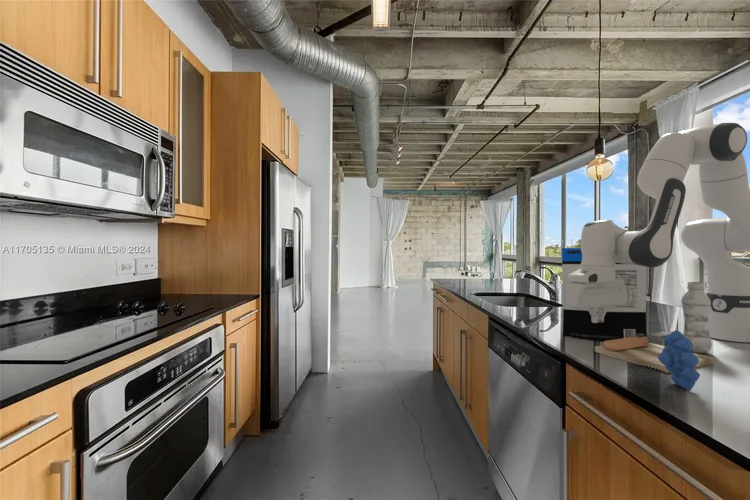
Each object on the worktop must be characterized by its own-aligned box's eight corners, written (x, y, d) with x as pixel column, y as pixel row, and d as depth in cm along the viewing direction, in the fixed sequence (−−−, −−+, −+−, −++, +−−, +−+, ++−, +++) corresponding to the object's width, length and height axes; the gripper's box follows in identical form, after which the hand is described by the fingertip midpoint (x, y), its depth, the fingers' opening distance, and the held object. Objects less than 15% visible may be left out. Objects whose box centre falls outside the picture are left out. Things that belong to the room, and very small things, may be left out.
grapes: (646, 375, 92) (646, 325, 92) (679, 377, 91) (678, 326, 90) (670, 394, 81) (670, 337, 81) (708, 397, 79) (708, 339, 79)
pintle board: (637, 344, 119) (637, 324, 119) (713, 363, 100) (713, 339, 100) (594, 351, 113) (594, 330, 112) (667, 372, 94) (667, 347, 94)
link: (638, 342, 114) (638, 335, 114) (650, 345, 111) (650, 338, 111) (600, 348, 109) (600, 340, 109) (612, 351, 106) (612, 343, 106)
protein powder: (651, 344, 119) (651, 247, 118) (564, 339, 127) (563, 248, 126) (641, 337, 128) (641, 247, 127) (561, 332, 136) (560, 247, 135)
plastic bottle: (717, 356, 106) (717, 283, 106) (689, 355, 108) (689, 283, 107) (702, 349, 113) (702, 281, 112) (676, 348, 114) (676, 281, 114)
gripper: (613, 273, 120) (612, 318, 120) (563, 275, 112) (562, 322, 112) (633, 275, 114) (632, 321, 114) (581, 277, 106) (581, 327, 107)
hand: (597, 322), depth 113 cm, fingers closed
